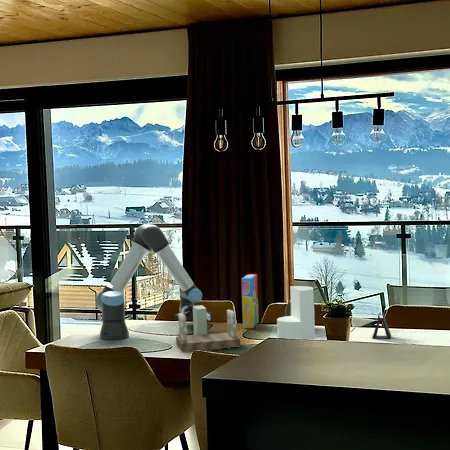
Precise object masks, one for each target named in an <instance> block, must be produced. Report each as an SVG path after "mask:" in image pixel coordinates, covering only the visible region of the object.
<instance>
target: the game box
mask: <svg viewBox="0 0 450 450" xmlns="http://www.w3.org/2000/svg"><path fill="white" fill-rule="evenodd" d="M241 305H242V307H241V308H242V328H243V329H254V328H255V326H257V324H258V323H259V322H260V321H259V318H260V317H259V288H258V274H256V273H255V274H254V273H248V274H246V275H244V277H242V278H241Z"/></svg>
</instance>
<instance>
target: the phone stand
mask: <svg viewBox="0 0 450 450" xmlns="http://www.w3.org/2000/svg"><path fill="white" fill-rule="evenodd" d="M380 315H381V316H382V317H380ZM381 322H382V324H383V329H384V332H385V335H378V330H379V326H380V323H381ZM389 328H390V327H389V326H388V324H387V321H386V318H385V313H384V312H382V313H381V312H379V313H378V314H377V322H376V326H375V328H374V331H373V334H372V337H371V338H372V339H373V340H391V339H392V333H391V331H390V329H389Z"/></svg>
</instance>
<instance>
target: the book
mask: <svg viewBox="0 0 450 450" xmlns="http://www.w3.org/2000/svg"><path fill="white" fill-rule="evenodd" d="M206 312H207V308H206V307H205V306H204V305H202V304H201V305H194V306H193V320H192V325H193V335H204V334H208V322H207V321H208V319H207V316H206Z"/></svg>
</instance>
